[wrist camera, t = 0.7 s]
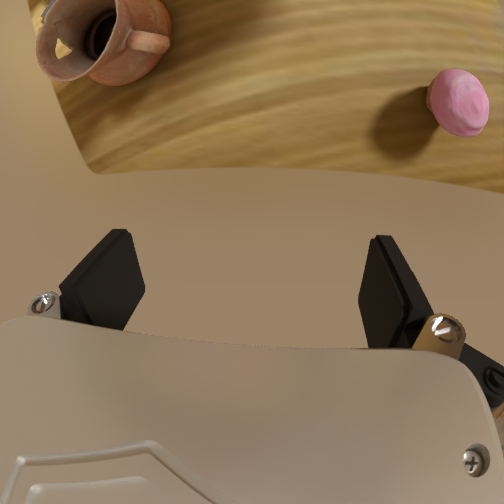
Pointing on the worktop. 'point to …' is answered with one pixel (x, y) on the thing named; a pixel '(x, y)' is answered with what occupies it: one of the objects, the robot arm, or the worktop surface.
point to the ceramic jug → (104, 39)
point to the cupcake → (458, 102)
